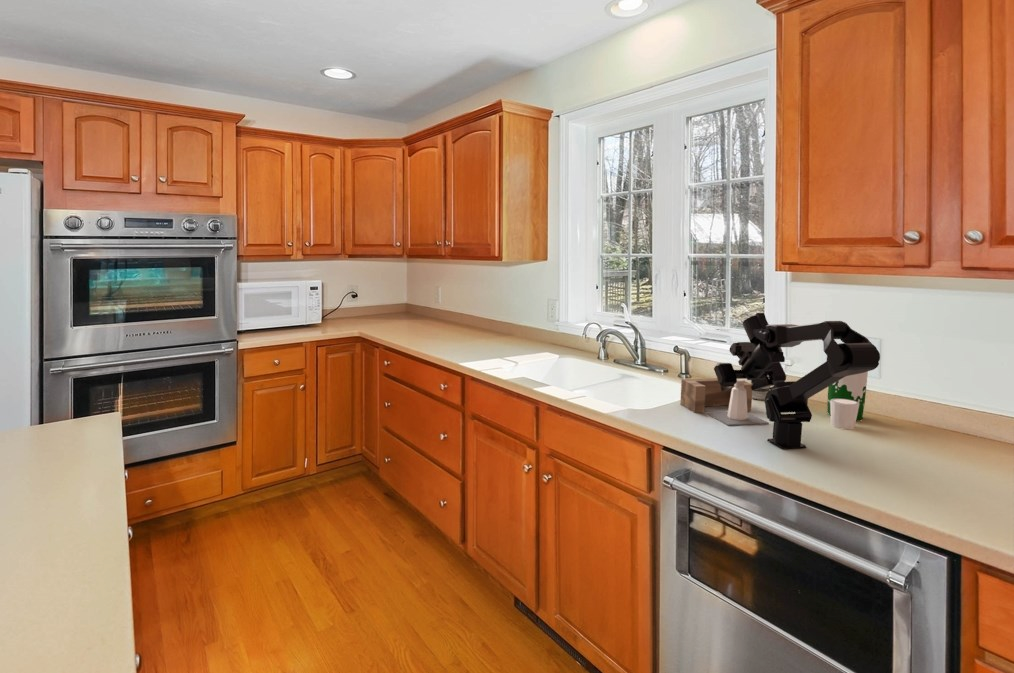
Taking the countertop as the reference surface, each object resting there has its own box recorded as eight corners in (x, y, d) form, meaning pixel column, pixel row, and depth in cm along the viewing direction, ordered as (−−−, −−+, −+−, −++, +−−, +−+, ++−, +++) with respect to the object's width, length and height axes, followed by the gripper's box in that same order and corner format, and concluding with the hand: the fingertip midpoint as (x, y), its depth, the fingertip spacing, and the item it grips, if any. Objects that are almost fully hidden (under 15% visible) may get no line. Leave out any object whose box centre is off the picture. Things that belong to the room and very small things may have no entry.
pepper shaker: (751, 419, 160) (754, 381, 159) (736, 421, 158) (738, 382, 157) (738, 414, 165) (740, 377, 164) (722, 415, 164) (725, 378, 162)
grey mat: (768, 424, 157) (768, 422, 157) (728, 425, 155) (728, 424, 155) (744, 412, 169) (744, 410, 169) (706, 413, 167) (706, 412, 167)
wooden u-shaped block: (751, 410, 171) (752, 384, 170) (694, 412, 168) (696, 386, 167) (734, 402, 180) (735, 377, 179) (680, 404, 177) (681, 379, 176)
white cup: (849, 422, 159) (851, 398, 158) (862, 430, 152) (864, 404, 151) (823, 422, 159) (825, 397, 158) (835, 429, 152) (837, 404, 151)
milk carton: (823, 411, 170) (828, 345, 167) (857, 414, 167) (863, 346, 164) (831, 419, 161) (837, 350, 159) (867, 422, 159) (874, 351, 156)
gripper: (782, 333, 156) (757, 365, 168) (719, 334, 153) (697, 366, 165) (799, 366, 149) (771, 397, 161) (733, 368, 146) (709, 400, 159)
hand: (737, 389), depth 162 cm, fingers open, 9 cm apart
